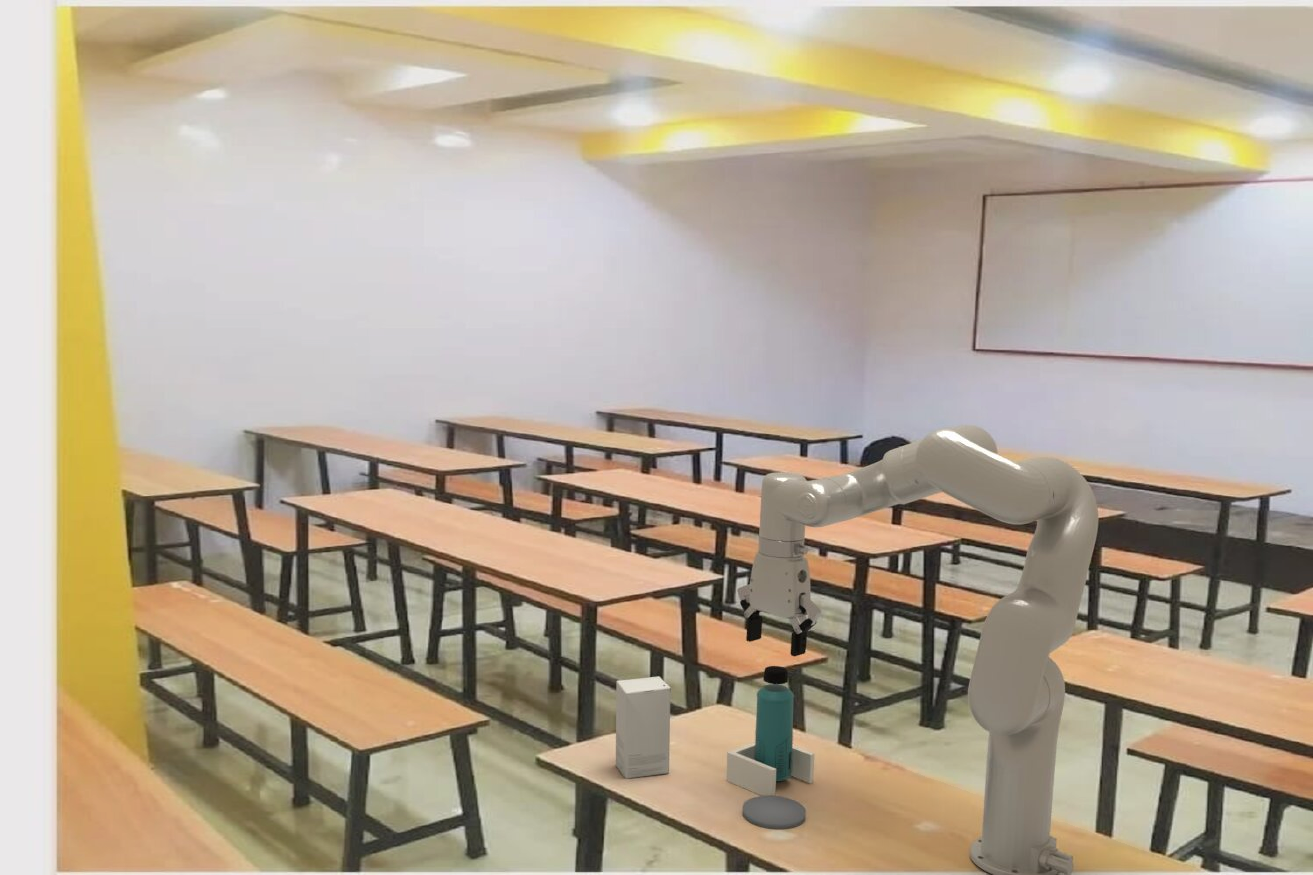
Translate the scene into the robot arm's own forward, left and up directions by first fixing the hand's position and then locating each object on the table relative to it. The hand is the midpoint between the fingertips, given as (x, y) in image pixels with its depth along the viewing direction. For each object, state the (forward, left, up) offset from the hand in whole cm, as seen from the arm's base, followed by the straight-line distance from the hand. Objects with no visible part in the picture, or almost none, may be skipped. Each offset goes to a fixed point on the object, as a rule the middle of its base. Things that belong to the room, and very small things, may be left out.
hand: (775, 647), depth 195 cm
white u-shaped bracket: (0, 0, -24) cm, 24 cm away
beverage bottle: (0, 0, -24) cm, 24 cm away
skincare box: (+18, +13, -24) cm, 32 cm away
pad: (-9, +9, -24) cm, 27 cm away
